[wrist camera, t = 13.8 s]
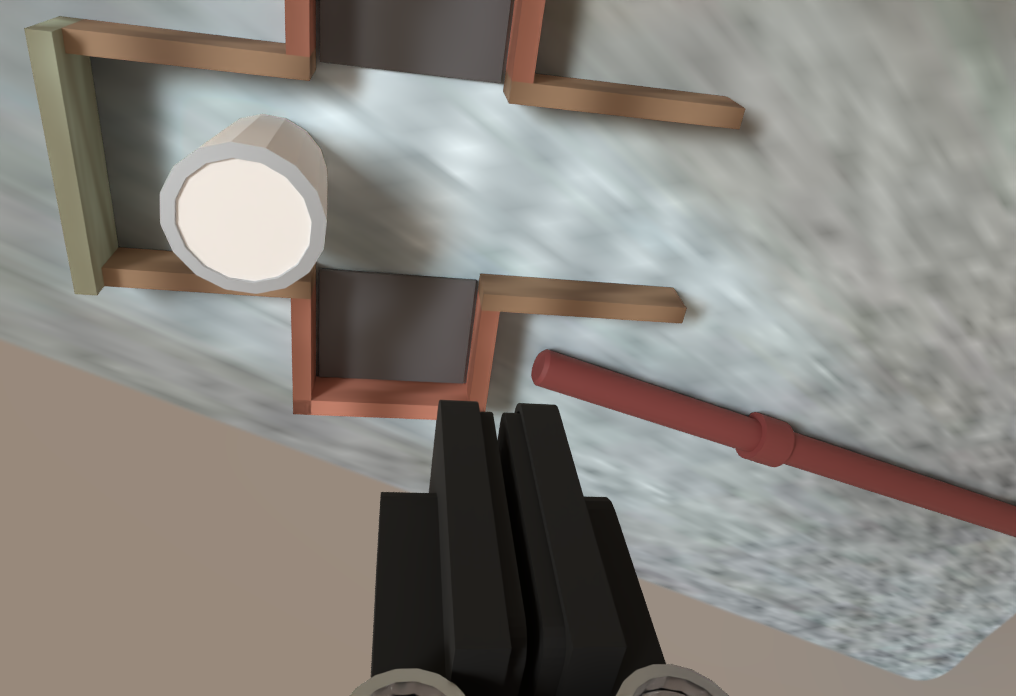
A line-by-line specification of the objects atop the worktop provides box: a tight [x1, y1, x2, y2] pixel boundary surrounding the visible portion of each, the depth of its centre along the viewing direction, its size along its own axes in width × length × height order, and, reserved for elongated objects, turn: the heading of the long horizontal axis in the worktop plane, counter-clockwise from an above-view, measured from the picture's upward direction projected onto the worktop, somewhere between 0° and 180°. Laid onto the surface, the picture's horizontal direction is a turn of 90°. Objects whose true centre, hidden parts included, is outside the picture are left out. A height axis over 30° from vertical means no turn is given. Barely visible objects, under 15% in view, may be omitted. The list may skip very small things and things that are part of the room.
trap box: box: [24, 0, 745, 420], centre depth 36 cm, size 32×27×4 cm
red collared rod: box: [531, 349, 1016, 537], centre depth 50 cm, size 45×3×3 cm, turn 65°
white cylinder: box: [160, 114, 328, 294], centre depth 34 cm, size 7×7×7 cm
